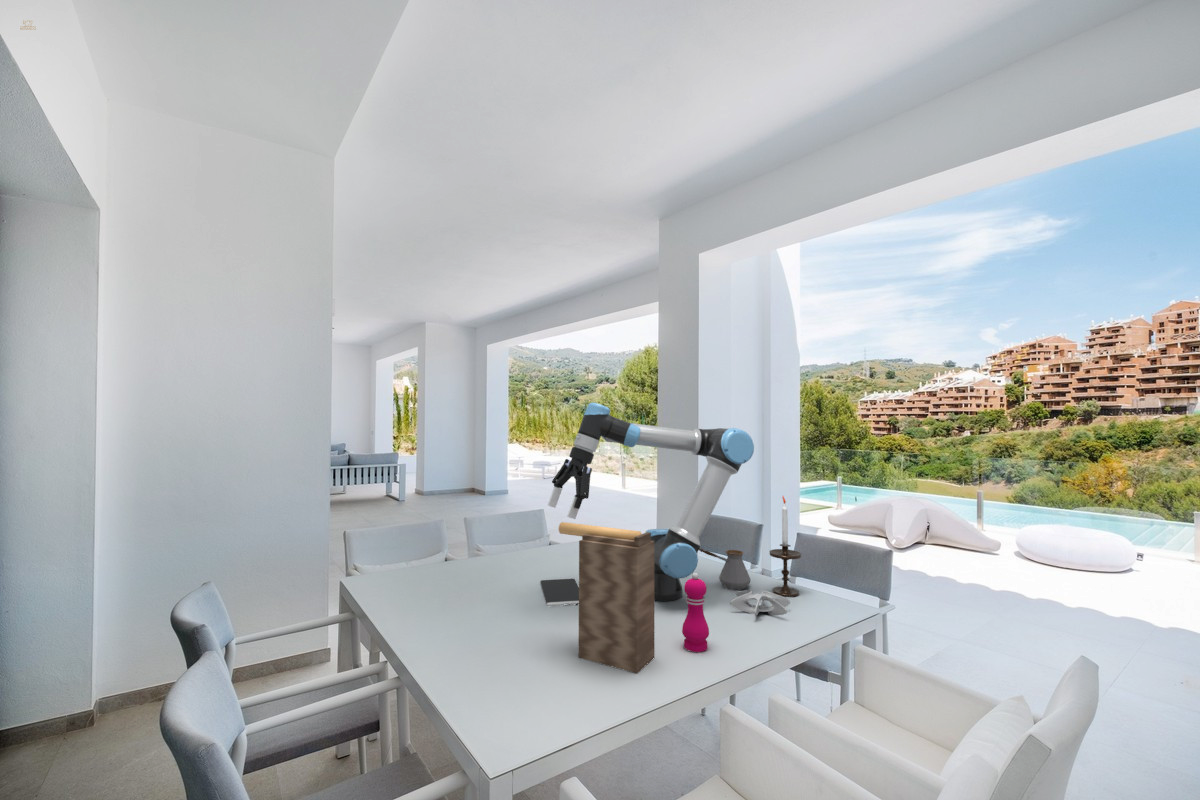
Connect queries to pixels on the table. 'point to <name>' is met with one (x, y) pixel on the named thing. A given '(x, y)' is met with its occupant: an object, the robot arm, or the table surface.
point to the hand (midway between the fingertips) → (560, 512)
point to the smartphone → (560, 591)
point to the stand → (616, 601)
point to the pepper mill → (695, 616)
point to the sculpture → (776, 609)
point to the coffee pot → (733, 570)
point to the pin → (596, 531)
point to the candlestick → (785, 558)
